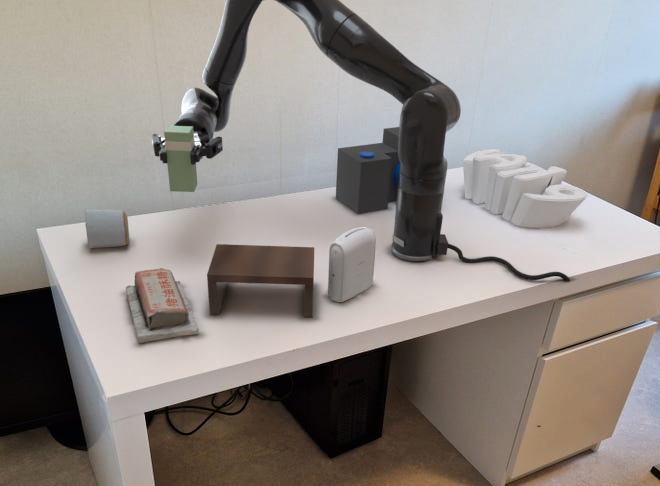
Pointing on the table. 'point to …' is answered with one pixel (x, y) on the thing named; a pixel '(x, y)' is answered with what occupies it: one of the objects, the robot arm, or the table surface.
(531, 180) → the white letter sculpture
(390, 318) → the table surface
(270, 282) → the shelf stand
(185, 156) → the box
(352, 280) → the photo printer
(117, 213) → the ceramic mug
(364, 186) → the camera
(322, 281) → the table surface
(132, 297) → the packaged product
